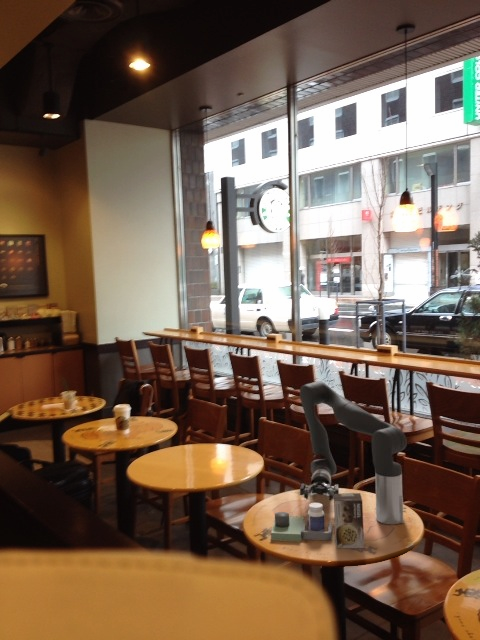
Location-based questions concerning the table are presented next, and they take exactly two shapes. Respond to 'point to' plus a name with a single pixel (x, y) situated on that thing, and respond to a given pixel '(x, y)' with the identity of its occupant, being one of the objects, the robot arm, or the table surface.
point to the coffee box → (348, 520)
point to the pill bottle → (316, 517)
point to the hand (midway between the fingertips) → (318, 497)
